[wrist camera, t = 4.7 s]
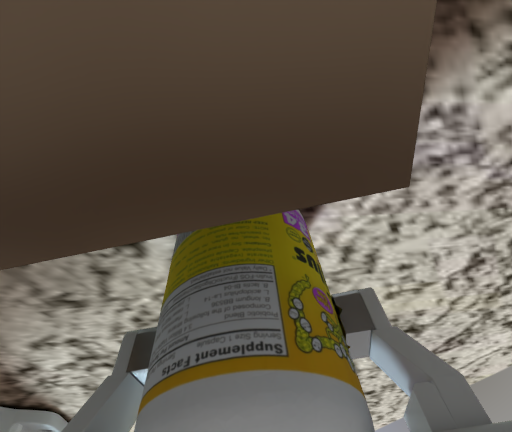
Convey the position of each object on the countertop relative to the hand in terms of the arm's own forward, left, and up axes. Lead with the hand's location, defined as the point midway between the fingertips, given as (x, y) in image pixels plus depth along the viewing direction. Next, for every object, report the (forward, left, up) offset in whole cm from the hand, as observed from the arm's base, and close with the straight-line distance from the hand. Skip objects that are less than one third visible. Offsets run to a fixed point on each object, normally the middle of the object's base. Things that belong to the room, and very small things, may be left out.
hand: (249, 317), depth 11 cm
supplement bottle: (0, 0, -5) cm, 5 cm away
